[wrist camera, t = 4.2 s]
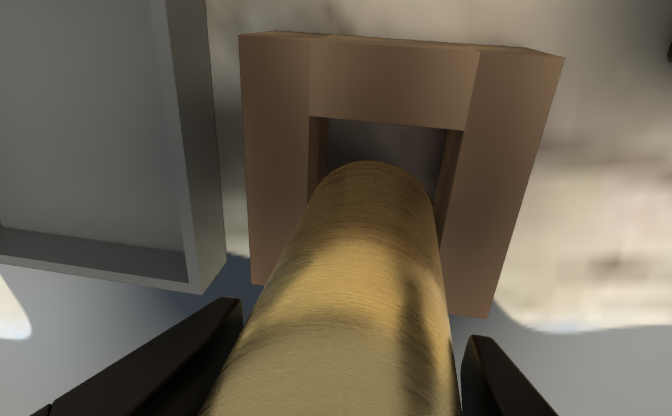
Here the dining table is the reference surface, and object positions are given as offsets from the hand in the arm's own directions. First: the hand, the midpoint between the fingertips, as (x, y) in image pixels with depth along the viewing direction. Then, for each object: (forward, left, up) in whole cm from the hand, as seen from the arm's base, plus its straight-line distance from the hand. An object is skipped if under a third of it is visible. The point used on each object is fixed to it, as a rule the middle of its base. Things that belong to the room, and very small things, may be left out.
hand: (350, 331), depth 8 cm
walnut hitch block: (0, 0, -11) cm, 11 cm away
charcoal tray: (+15, 0, -11) cm, 19 cm away
